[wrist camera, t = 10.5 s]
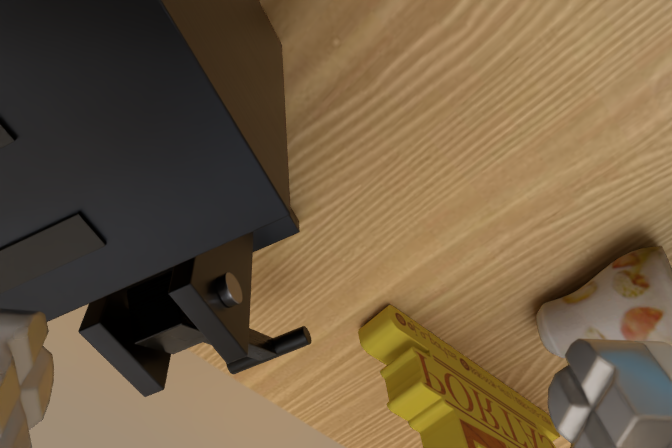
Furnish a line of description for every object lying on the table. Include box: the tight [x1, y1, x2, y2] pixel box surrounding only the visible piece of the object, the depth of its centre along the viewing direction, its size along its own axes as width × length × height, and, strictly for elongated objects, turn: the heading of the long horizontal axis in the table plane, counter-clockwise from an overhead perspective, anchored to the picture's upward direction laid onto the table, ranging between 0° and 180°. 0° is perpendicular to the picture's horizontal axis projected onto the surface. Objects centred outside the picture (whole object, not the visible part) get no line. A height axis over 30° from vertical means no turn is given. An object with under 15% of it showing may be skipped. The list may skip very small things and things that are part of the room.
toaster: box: [0, 0, 291, 322], centre depth 22 cm, size 16×8×16 cm, turn 114°
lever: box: [127, 271, 311, 374], centre depth 29 cm, size 12×5×2 cm, turn 24°
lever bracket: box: [79, 207, 300, 397], centre depth 28 cm, size 10×8×13 cm
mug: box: [536, 246, 672, 358], centre depth 39 cm, size 8×10×10 cm
